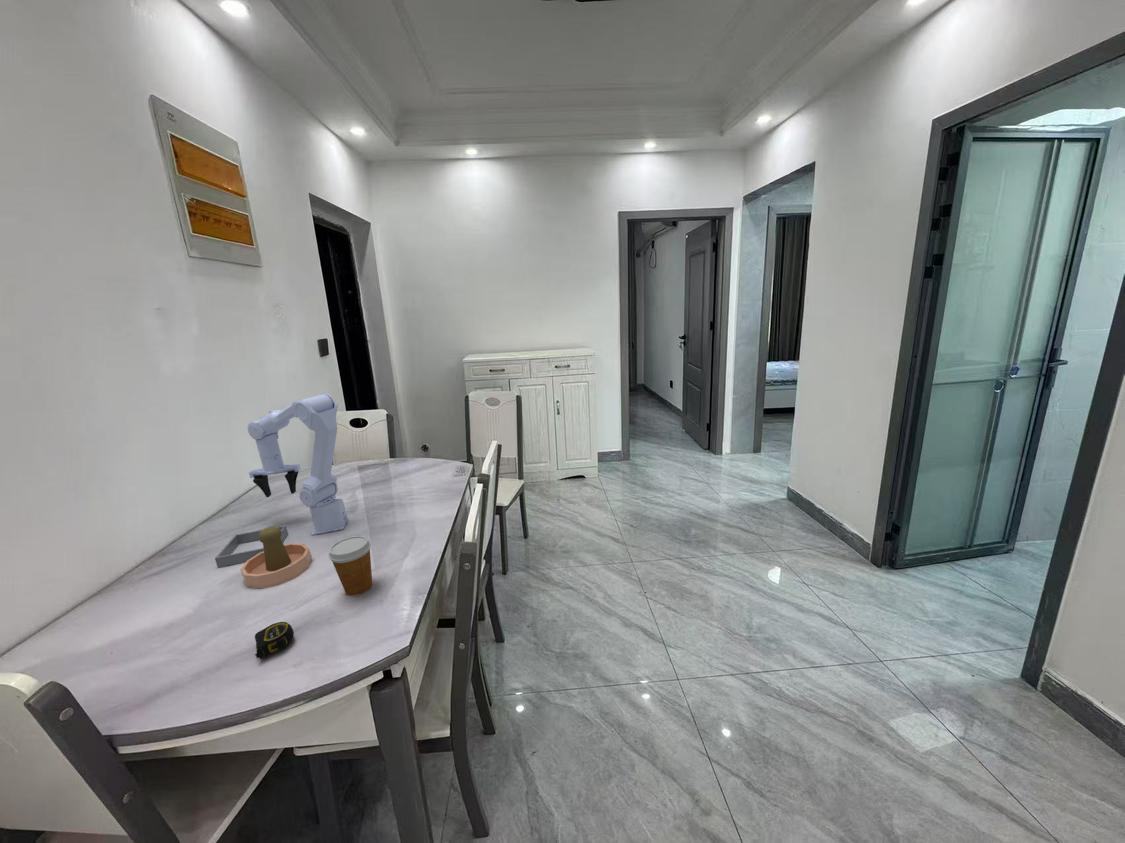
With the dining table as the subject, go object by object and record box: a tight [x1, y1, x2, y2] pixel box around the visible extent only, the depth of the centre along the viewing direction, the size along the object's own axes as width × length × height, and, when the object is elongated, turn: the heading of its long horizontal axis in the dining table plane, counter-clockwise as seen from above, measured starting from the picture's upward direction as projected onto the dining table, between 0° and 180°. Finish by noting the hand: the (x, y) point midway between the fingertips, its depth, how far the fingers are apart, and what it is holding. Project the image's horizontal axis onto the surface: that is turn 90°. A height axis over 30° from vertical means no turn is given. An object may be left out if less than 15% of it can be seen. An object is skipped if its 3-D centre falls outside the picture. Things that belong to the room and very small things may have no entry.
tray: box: [214, 525, 289, 568], centre depth 137 cm, size 14×14×3 cm
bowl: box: [240, 542, 313, 589], centre depth 124 cm, size 16×16×4 cm
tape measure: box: [254, 621, 295, 660], centre depth 95 cm, size 7×7×4 cm
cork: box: [258, 526, 291, 571], centre depth 124 cm, size 6×6×11 cm
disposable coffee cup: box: [327, 535, 373, 597], centre depth 112 cm, size 10×10×12 cm
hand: (281, 494), depth 150 cm, fingers open, 7 cm apart
